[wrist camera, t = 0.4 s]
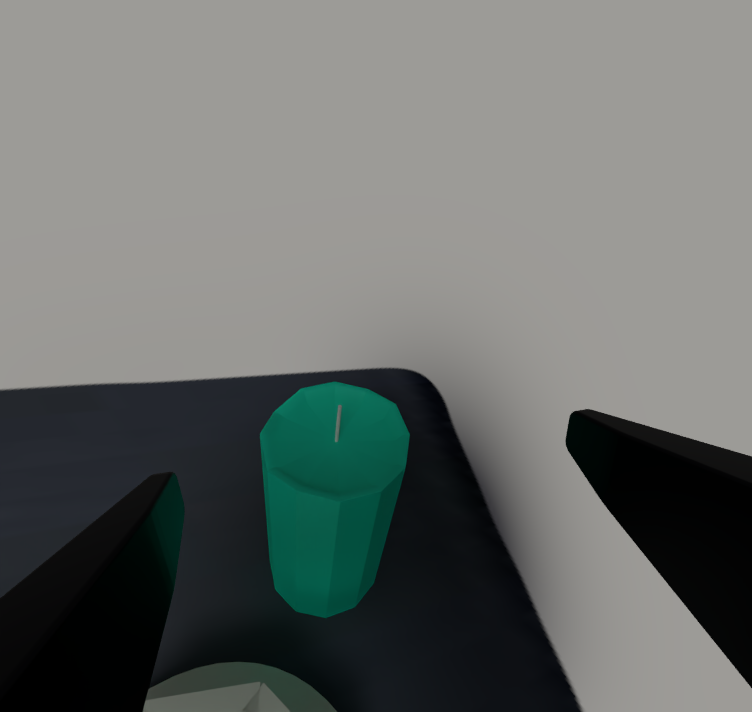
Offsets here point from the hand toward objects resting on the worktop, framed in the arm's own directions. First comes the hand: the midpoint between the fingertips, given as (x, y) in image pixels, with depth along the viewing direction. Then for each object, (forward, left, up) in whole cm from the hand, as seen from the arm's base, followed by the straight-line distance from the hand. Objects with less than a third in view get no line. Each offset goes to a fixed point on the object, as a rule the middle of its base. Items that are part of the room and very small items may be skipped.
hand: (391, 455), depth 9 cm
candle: (+5, 0, -16) cm, 17 cm away
